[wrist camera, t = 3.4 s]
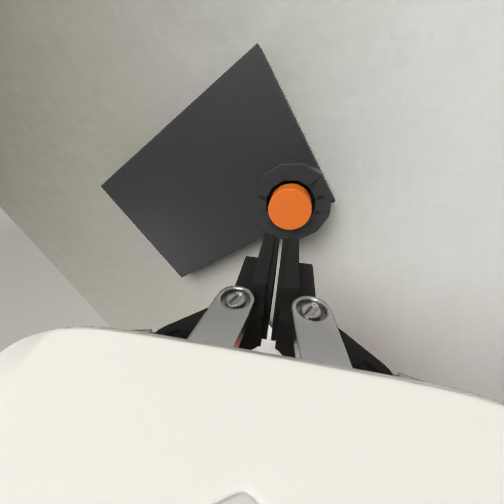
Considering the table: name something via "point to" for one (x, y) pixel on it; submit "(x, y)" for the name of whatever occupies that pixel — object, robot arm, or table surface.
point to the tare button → (290, 206)
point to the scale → (221, 170)
